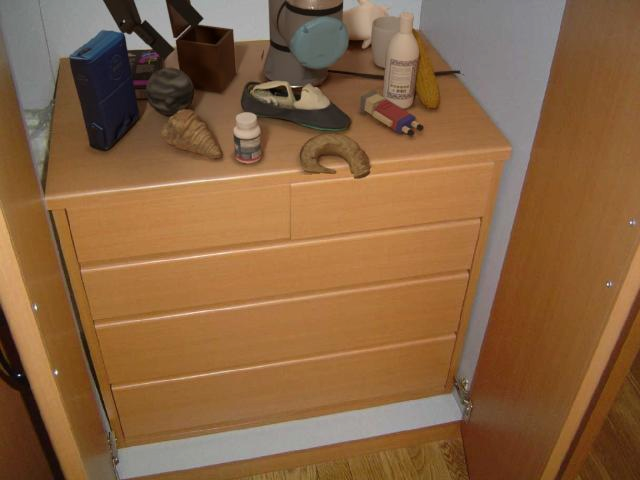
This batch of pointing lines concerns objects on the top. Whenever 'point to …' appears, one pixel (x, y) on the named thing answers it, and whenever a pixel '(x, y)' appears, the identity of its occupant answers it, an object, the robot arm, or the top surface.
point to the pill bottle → (247, 138)
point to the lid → (176, 21)
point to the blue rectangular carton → (105, 88)
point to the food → (425, 77)
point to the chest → (207, 57)
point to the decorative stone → (170, 91)
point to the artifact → (335, 154)
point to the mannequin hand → (362, 20)
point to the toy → (389, 113)
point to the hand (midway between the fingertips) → (184, 38)
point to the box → (143, 69)
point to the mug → (382, 37)
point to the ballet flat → (293, 105)
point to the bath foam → (401, 64)
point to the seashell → (190, 134)
